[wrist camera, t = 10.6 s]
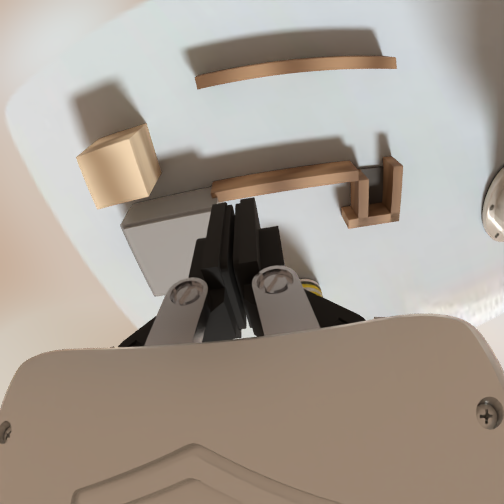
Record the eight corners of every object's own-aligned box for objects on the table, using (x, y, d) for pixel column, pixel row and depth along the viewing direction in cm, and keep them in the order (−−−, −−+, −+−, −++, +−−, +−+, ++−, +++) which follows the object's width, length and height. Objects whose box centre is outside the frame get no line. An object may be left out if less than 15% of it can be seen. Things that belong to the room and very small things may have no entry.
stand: (219, 185, 28) (216, 207, 25) (237, 259, 34) (238, 286, 30) (132, 204, 29) (119, 227, 26) (161, 271, 34) (154, 298, 31)
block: (146, 123, 24) (129, 139, 20) (161, 172, 27) (148, 196, 23) (99, 138, 25) (76, 157, 21) (116, 184, 28) (97, 209, 24)
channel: (388, 56, 21) (401, 57, 19) (389, 208, 30) (398, 220, 28) (187, 78, 22) (181, 80, 20) (226, 234, 32) (225, 248, 30)
